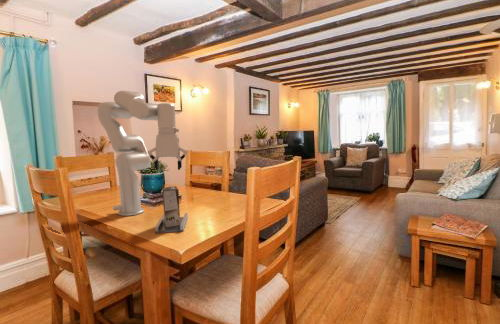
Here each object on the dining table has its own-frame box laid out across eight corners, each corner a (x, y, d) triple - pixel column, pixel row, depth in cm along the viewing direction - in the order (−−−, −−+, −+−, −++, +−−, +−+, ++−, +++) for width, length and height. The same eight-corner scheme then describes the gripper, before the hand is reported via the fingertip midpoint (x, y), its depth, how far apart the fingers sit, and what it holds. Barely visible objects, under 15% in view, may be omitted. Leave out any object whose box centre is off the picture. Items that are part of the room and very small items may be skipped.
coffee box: (180, 225, 121) (178, 189, 120) (165, 227, 119) (163, 191, 117) (178, 219, 130) (176, 185, 128) (163, 221, 128) (161, 187, 126)
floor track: (155, 233, 115) (155, 227, 115) (163, 219, 133) (163, 214, 132) (183, 231, 116) (183, 225, 116) (187, 218, 134) (187, 213, 134)
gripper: (187, 131, 128) (188, 168, 130) (149, 131, 126) (150, 168, 128) (185, 131, 120) (186, 170, 123) (144, 131, 119) (146, 171, 121)
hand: (168, 169), depth 125 cm, fingers open, 9 cm apart
